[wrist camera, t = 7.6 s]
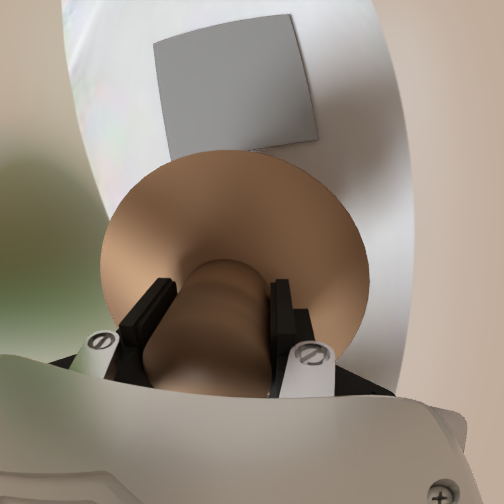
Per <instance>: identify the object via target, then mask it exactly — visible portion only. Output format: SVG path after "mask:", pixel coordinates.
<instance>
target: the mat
mask: <svg viewBox="0 0 504 504" xmlns="http://www.w3.org/2000/svg"><path fill="white" fill-rule="evenodd" d="M153 48H154V57H155V65H156V72H157V80H158V87H159V93H160V100H161V106H162V113H163V119H164V124H165V130H166V136H167V141H168V147H169V152H170V157H171V161H173V160H176V159H178V158H181V157H184V156H188V155H191V154H195V153H198V152H206V151H213V150H243V151H248V150H254V149H259V148H265V147H271V146H278V145H285V144H292V143H299V142H307V141H315V140H319V139H318V134H317V128H316V123H315V118H314V113H313V108H312V103H311V99H310V94H309V89H308V85H307V81H306V76H305V72H304V68H303V64H302V60H301V56H300V52H299V48H298V45H297V41H296V37H295V34H294V30H293V27H292V23H291V20H290V17H289V14H286V15H275V16H267V17H259V18H252V19H246V20H240V21H235V22H229V23H225V24H220V25H215V26H211V27H207V28H203V29H199V30H195V31H192V32H188V33H185V34H181V35H178V36H175V37H172V38H168V39H165V40H162V41H160V42H157V43H154V44H153Z"/></svg>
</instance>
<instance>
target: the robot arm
mask: <svg viewBox="0 0 504 504" xmlns="http://www.w3.org/2000/svg"><path fill="white" fill-rule="evenodd" d="M177 294H178V293H177V285H176V282H175V281H172V279H171V278H157V280H156V281H155V282H154V283H153V284H152V285H151V286H150V288H149V289H148V290H147V291H146V292H145V293H144V295H143V296H142V297H141V298H140V299H139V301H138V302H137V303H136V304H135V305H134V307H133V308H132V309H131V310H130V311H129V313H128V314H127V315H126V316H125V317H124V319H123V320H122V321H121V322H120V324H119V325H118V326H119V328H118V330H117V331H116V332H114V331H109V330H103V331H98V332H95V333H93V334H91V335H90V336H89V337H87V338H86V340H85V341H84V343H83V344H82V346H81V348H80V350H79V351H78V353H77V354H75V355H72V356H69V357H66V358H63V359H60V360H57V361H54V362H51V363H44V362H40V361H37V360H33V359H30V358H27V357H22V356H18V355H10V354H9V355H8V354H2V355H0V504H483V502H482V499H481V496H480V493H479V490H478V487H477V484H476V482H475V479H474V476H473V473H472V471H471V468H470V466H469V464H468V462H467V459H466V457H465V455H464V448H465V441H466V434H467V422H466V420H465V418H464V417H463V416H462V415H461V414H459V413H457V412H454V411H449V410H444V409H440V408H436V407H431V406H428V405H426V404H424V403H422V402H419V401H416V400H412V399H407V398H401V397H396V396H395V395H394V393H392V392H391V391H389V390H387V389H385V388H383V387H381V386H379V385H376V384H374V383H372V382H370V381H368V380H366V379H364V378H362V377H360V376H357V375H355V374H353V373H351V372H349V371H347V370H345V369H343V368H341V367H339V366H337V365H335V352H334V350H333V349H332V348H331V347H330V346H329V345H327V344H325V343H323V342H319V341H315V336H314V332H313V328H312V323H311V319H310V315H309V310H308V309H293V306H292V299H291V292H290V285H289V279H276V280H275V282H270V362H271V368H272V382H271V388H270V391H269V398H246V397H226V396H212V395H201V394H191V393H182V392H174V391H167V390H160V389H155V388H154V387H153V386H152V384H151V383H150V381H149V380H148V378H147V376H146V373H145V371H144V367H143V352H144V349H145V346H146V344H147V342H148V341H149V339H150V338H151V336H152V334H153V333H154V331H155V329H156V328H157V326H158V325H159V323H160V321H161V320H162V318H163V317H164V315H165V313H166V312H167V310H168V309H169V307H170V305H171V304H172V302H173V301H174V299H175V297H176V296H177Z"/></svg>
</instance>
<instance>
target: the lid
mask: <svg viewBox="0 0 504 504" xmlns="http://www.w3.org/2000/svg"><path fill="white" fill-rule="evenodd" d="M100 267H101V282H102V288H103V294H104V297H105V301H106V304H107V307H108V310H109V312H110V314H111V316H112V319H113V321H114V323H115V325H116V326H117V328H119V326H118V325H119V324H120V322H121V321H122V320H123V319H124V317H125V316H126V315H127V314H128V313H129V311H130V310H131V309H132V308H133V307H134V305H135V304H136V303H137V302H138V301H139V299H140V298H141V297H142V296H143V295H144V293H145V292H146V291H147V290H148V289H149V288H150V286H151V285H152V284H153V283H154V282H155V281H156V280H157V278H171V279H172V281H175V282H176V285H177V293H178V294H177V296H176V297H175V299H174V301H173V302H172V304H171V305H170V307H169V309H168V310H167V312H166V313H165V315H164V317H163V318H162V320H161V321H160V323H159V325H158V326H157V328H156V329H155V331H154V333H153V334H152V336H151V338H150V339H149V341H148V342H147V344H146V346H145V349H144V352H143V367H144V371H145V373H146V376H147V378H148V380H149V381H150V383H151V384H152V386H153V387H154V388H155V389H160V390H167V391H174V392H182V393H191V394H201V395H212V396H226V397H246V398H266V397H267V395H269V391H270V388H271V382H272V368H271V362H270V282H275V280H276V279H289V285H290V292H291V299H292V306H293V309H308V310H309V315H310V319H311V323H312V328H313V332H314V336H315V341H319V342H323V343H325V344H327V345H329V346H330V347H331V348H332V349H333V350H334V352H335V361H336V360H337V359H338V358H339V357H340V356H341V355H342V353H343V352H344V351H345V350H346V348H347V347H348V346H349V344H350V343H351V341H352V340H353V338H354V336H355V334H356V333H357V331H358V329H359V327H360V324H361V322H362V319H363V317H364V314H365V310H366V306H367V302H368V295H369V284H370V279H369V264H368V259H367V255H366V250H365V246H364V244H363V241H362V238H361V236H360V233H359V231H358V229H357V227H356V225H355V223H354V221H353V220H352V218H351V216H350V214H349V213H348V211H347V210H346V209H345V208H344V206H343V205H342V204H341V203H340V201H339V200H338V199H337V198H336V196H335V195H333V194H332V193H331V192H330V191H329V190H328V189H327V188H326V187H325V186H324V185H323V184H322V183H321V182H319V181H318V180H316V179H315V178H314V177H312V176H311V175H309V174H308V173H306V172H305V171H303V170H301V169H299V168H297V167H295V166H293V165H291V164H289V163H287V162H285V161H283V160H280V159H277V158H274V157H271V156H268V155H265V154H261V153H255V152H249V151H243V150H213V151H206V152H198V153H195V154H191V155H188V156H184V157H181V158H178V159H176V160H173V161H171V162H169V163H167V164H165V165H163V166H160V167H159V168H157V169H156V170H154V171H153V172H151V173H150V174H148V175H147V176H145V177H144V178H143V179H142V180H141V181H140V182H139V183H137V184H136V185H135V186H134V187H133V188H132V189H131V190H130V191H129V193H128V194H127V195H126V196H125V197H124V199H123V200H122V201H121V203H120V204H119V206H118V207H117V209H116V211H115V213H114V214H113V216H112V218H111V220H110V223H109V225H108V228H107V230H106V233H105V237H104V241H103V245H102V251H101V264H100Z"/></svg>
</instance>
